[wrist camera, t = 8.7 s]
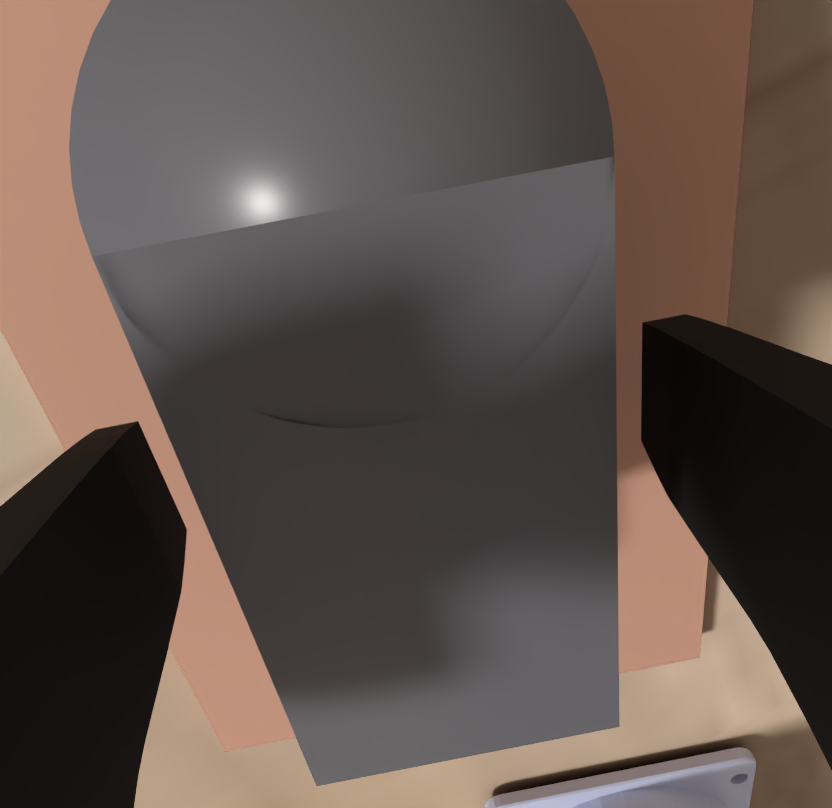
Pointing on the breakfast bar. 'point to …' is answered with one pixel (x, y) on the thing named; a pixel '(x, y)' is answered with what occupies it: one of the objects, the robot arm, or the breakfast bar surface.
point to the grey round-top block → (378, 347)
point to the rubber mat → (635, 303)
